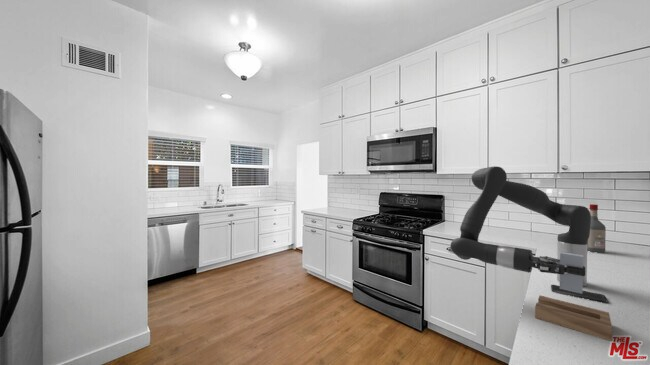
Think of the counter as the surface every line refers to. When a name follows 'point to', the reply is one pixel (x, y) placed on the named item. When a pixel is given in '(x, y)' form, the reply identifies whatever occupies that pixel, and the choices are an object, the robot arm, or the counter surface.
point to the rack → (574, 317)
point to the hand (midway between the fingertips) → (584, 271)
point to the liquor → (596, 232)
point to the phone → (584, 294)
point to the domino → (571, 280)
